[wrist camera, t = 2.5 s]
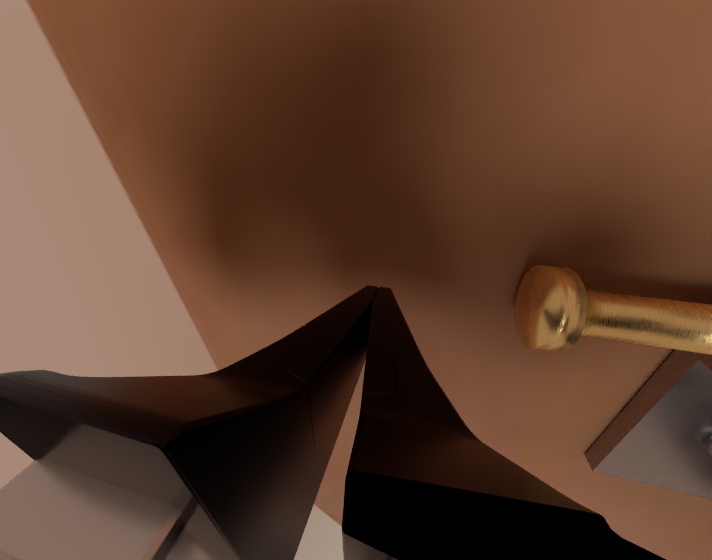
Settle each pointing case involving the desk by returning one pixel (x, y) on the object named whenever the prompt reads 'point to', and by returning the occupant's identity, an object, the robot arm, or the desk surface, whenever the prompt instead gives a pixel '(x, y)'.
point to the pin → (603, 315)
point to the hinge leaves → (664, 430)
